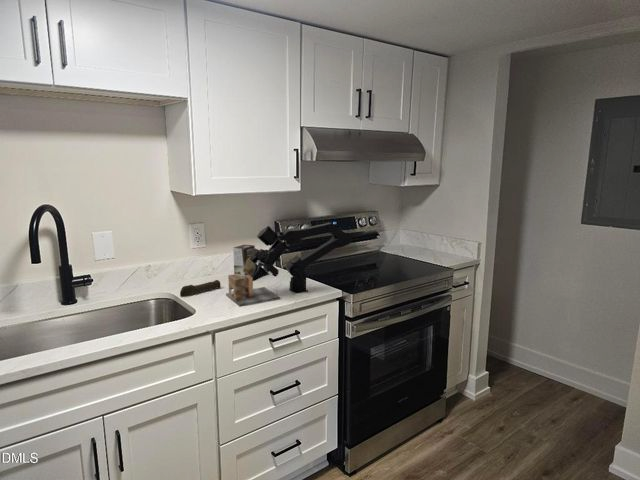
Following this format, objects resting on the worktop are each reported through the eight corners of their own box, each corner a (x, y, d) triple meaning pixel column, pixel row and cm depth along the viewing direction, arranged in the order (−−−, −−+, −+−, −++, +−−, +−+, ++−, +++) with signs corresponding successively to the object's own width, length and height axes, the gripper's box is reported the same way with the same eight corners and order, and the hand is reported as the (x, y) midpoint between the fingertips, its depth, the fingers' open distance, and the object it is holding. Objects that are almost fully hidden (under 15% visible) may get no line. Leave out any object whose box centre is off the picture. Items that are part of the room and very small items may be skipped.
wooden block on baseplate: (264, 289, 192) (264, 267, 190) (280, 299, 179) (279, 276, 177) (226, 295, 183) (225, 273, 181) (239, 306, 170) (238, 282, 168)
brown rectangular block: (248, 292, 182) (248, 274, 181) (253, 296, 178) (252, 277, 177) (229, 296, 178) (228, 277, 176) (233, 299, 174) (232, 280, 172)
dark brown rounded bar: (216, 287, 196) (216, 277, 195) (221, 289, 193) (220, 279, 192) (177, 296, 183) (176, 286, 182) (182, 298, 180) (181, 288, 179)
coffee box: (244, 281, 204) (243, 248, 201) (233, 279, 207) (232, 247, 204) (255, 276, 212) (254, 245, 209) (245, 275, 215) (244, 244, 212)
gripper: (253, 237, 187) (230, 264, 183) (271, 244, 171) (246, 275, 168) (270, 253, 192) (247, 279, 189) (289, 261, 177) (264, 291, 173)
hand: (250, 281), depth 180 cm, fingers closed, pressing on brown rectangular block
